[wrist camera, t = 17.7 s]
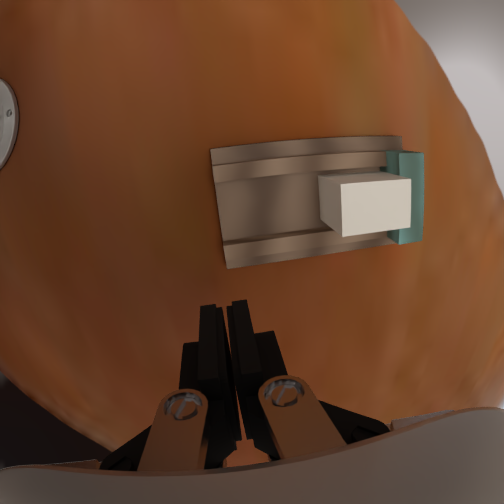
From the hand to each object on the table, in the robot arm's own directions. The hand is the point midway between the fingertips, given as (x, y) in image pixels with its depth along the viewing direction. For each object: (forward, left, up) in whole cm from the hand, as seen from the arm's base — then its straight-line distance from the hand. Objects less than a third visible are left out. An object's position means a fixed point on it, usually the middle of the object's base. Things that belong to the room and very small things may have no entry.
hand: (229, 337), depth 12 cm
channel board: (+10, 0, -22) cm, 24 cm away
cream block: (+14, 0, -21) cm, 25 cm away
